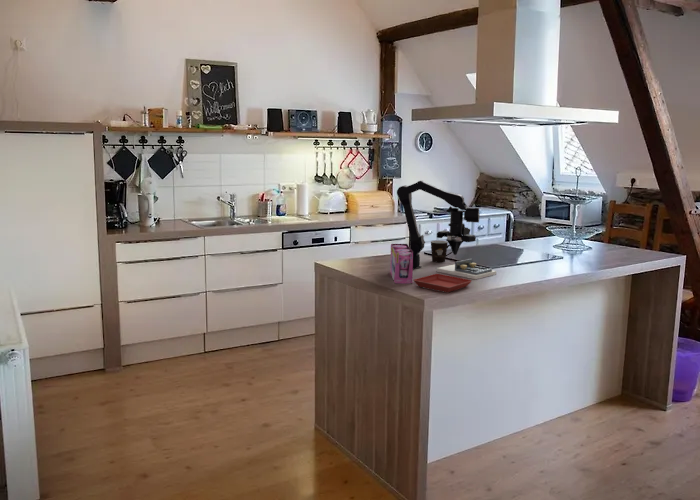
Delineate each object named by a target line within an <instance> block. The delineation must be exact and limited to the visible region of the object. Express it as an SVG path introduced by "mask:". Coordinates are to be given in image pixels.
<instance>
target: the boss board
mask: <svg viewBox="0 0 700 500" xmlns="http://www.w3.org/2000/svg"><path fill="white" fill-rule="evenodd" d="M469 266H471V267H474V266H477V263H476V262H472V263H470V264H469ZM460 268H462V269H465V268H467V265H460ZM436 272H438V273H442V274H446V275H447V274H448V275H451V276H458V277H461V278H466V279H467V278H468V279H471V280H477V279H478V280H479V279H482V278H487V277H490V276H495V275H497V270H493V269H492V271H490V272H486V273H482V274H478V275H475V274H470V273H465V272H460V271H455V263H454V264H450V265H444V266H440V267H436Z"/></svg>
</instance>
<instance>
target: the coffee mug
mask: <svg viewBox="0 0 700 500" xmlns="http://www.w3.org/2000/svg"><path fill="white" fill-rule="evenodd" d="M449 247H450V245H449V243H448V241H446V240H437V239H436V240H431V241H430V249H431V250H430V251H431V262H433V263H438V264H439V263H445V262H446V258H447V256H449V255H451V254H452V253H453V251H452V250H451V252H449V253H448V254H447V251H448V249H449Z"/></svg>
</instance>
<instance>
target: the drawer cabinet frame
mask: <svg viewBox="0 0 700 500" xmlns="http://www.w3.org/2000/svg"><path fill="white" fill-rule="evenodd" d="M473 261H474V259H473V258H467V259H462V260H458V261H455V262H454V264H455V271H460V272H465V273H470V274H475V275H478V274H482V273H486V272H490V271H492V270H493V268H489V267H483V266H478V265H476V266H474V267H471V266H469V264H470V263H474V262H473ZM460 265H467V268H465V269H462V268H460Z"/></svg>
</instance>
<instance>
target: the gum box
mask: <svg viewBox="0 0 700 500" xmlns="http://www.w3.org/2000/svg"><path fill="white" fill-rule="evenodd" d="M389 264H390V265H389V266H390V270H389V271H390V276H391V277H392V281H393V280H394V281H393V283H394V282H395V283H394V284H410V283H412V284H413V276H414V275H413V270H414V269H413V251H412V250H411V249H410V245H409V244H408V243H391V244H390V263H389Z"/></svg>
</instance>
